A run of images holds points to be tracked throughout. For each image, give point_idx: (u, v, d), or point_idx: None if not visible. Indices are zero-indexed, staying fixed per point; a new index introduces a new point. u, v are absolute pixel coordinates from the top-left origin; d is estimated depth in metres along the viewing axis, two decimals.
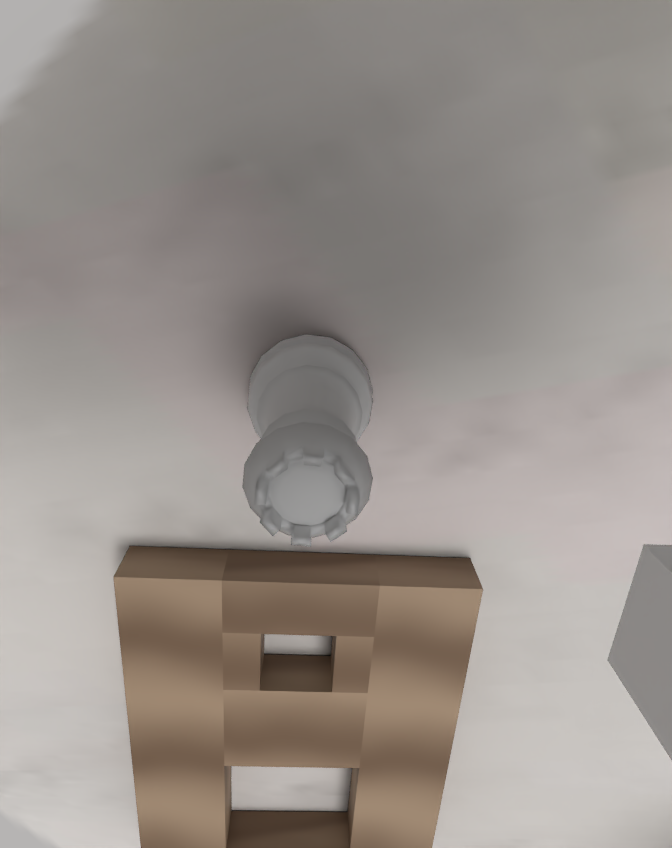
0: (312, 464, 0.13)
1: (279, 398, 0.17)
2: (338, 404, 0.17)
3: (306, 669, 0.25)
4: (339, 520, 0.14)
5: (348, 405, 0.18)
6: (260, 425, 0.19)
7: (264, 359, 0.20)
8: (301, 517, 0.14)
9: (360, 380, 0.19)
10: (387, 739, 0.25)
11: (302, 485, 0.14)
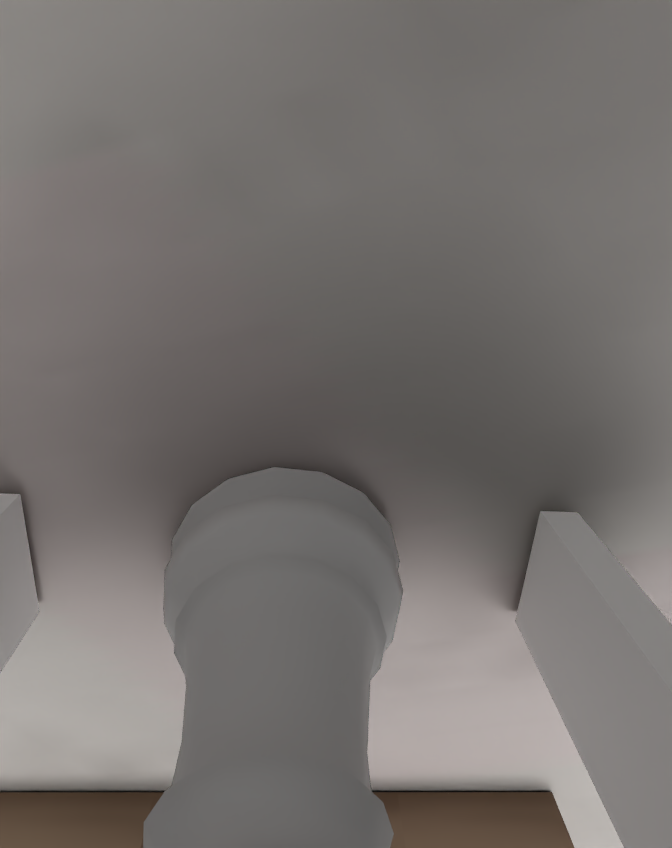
0: None
1: (209, 644, 0.08)
2: (340, 668, 0.08)
3: None
4: None
5: (360, 647, 0.08)
6: (181, 664, 0.09)
7: (196, 513, 0.10)
8: None
9: (381, 567, 0.10)
10: None
11: None
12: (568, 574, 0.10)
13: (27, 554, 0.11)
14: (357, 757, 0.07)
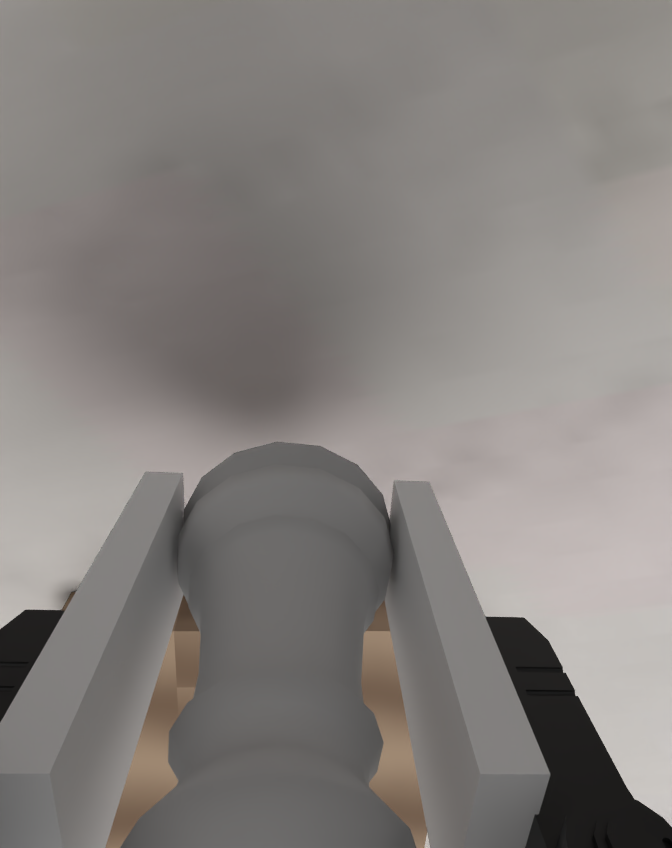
0: None
1: (221, 592, 0.09)
2: (337, 610, 0.09)
3: None
4: None
5: (355, 596, 0.09)
6: (195, 617, 0.10)
7: (206, 484, 0.11)
8: None
9: (374, 529, 0.11)
10: None
11: None
12: (403, 535, 0.11)
13: None
14: (352, 681, 0.08)
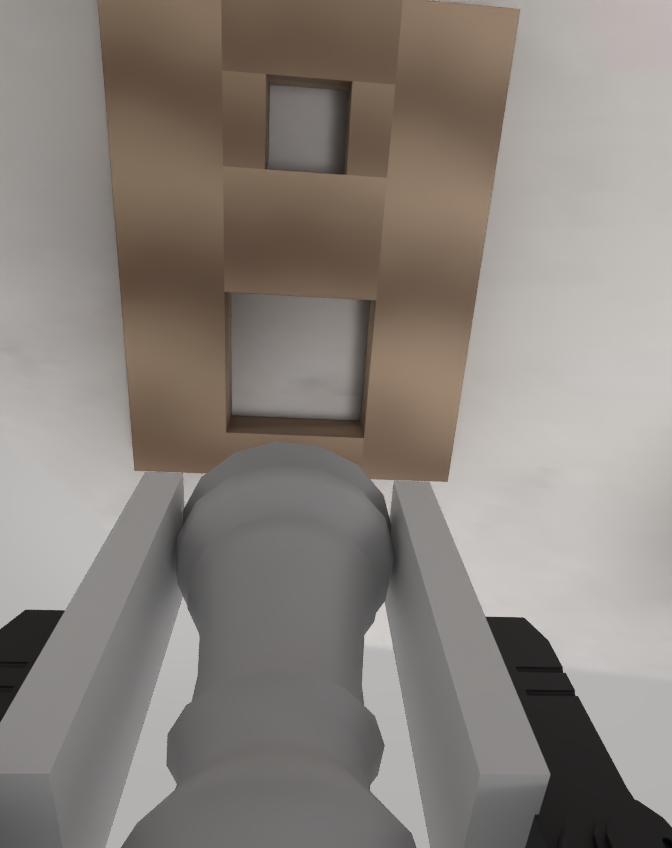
0: None
1: (220, 592, 0.09)
2: (337, 612, 0.09)
3: None
4: None
5: (355, 596, 0.09)
6: (194, 618, 0.10)
7: (205, 484, 0.11)
8: None
9: (374, 529, 0.11)
10: (408, 254, 0.22)
11: None
12: (402, 535, 0.11)
13: None
14: (352, 683, 0.08)
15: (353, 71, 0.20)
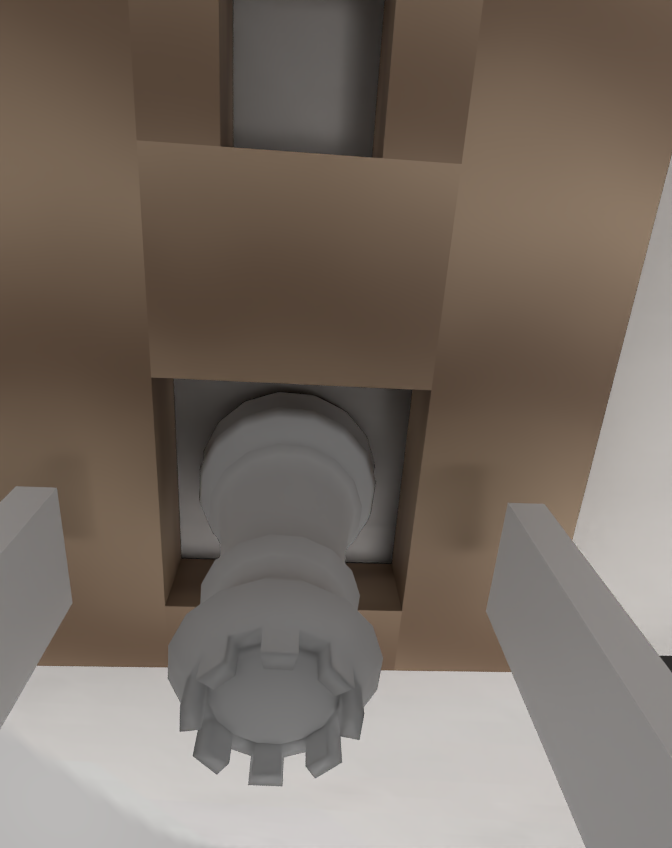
0: (278, 666, 0.07)
1: (237, 498, 0.12)
2: (326, 508, 0.11)
3: None
4: (328, 740, 0.08)
5: (341, 504, 0.12)
6: (215, 528, 0.13)
7: (222, 428, 0.14)
8: (265, 736, 0.08)
9: (357, 458, 0.13)
10: (495, 308, 0.12)
11: (264, 690, 0.08)
12: (531, 563, 0.10)
13: (62, 546, 0.11)
14: (336, 554, 0.10)
15: None
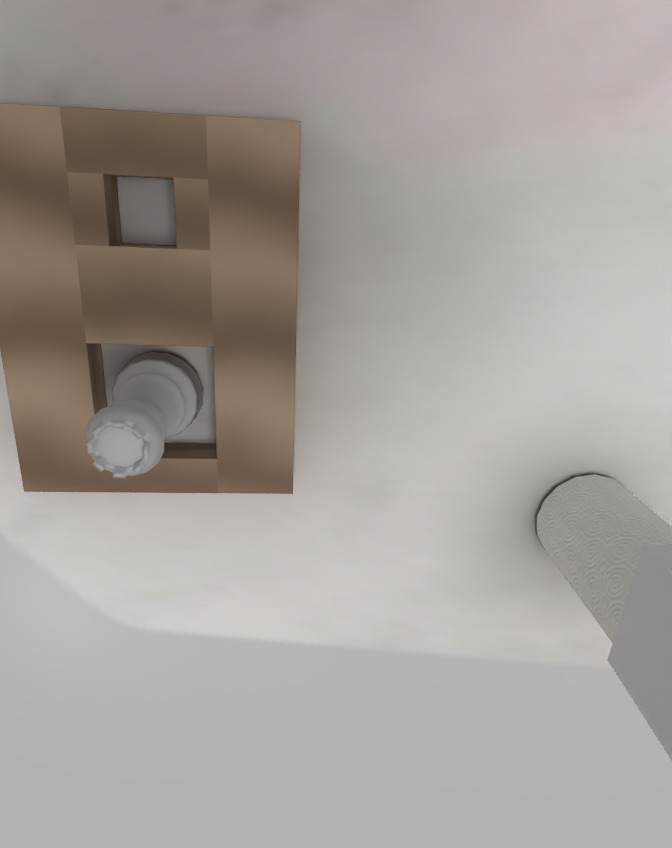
0: (117, 427, 0.23)
1: (123, 393, 0.27)
2: (159, 395, 0.26)
3: (158, 246, 0.27)
4: (141, 462, 0.23)
5: (171, 397, 0.27)
6: None
7: None
8: (119, 461, 0.23)
9: (185, 381, 0.28)
10: (235, 309, 0.27)
11: (116, 441, 0.23)
12: None
13: None
14: (159, 411, 0.26)
15: (172, 170, 0.25)
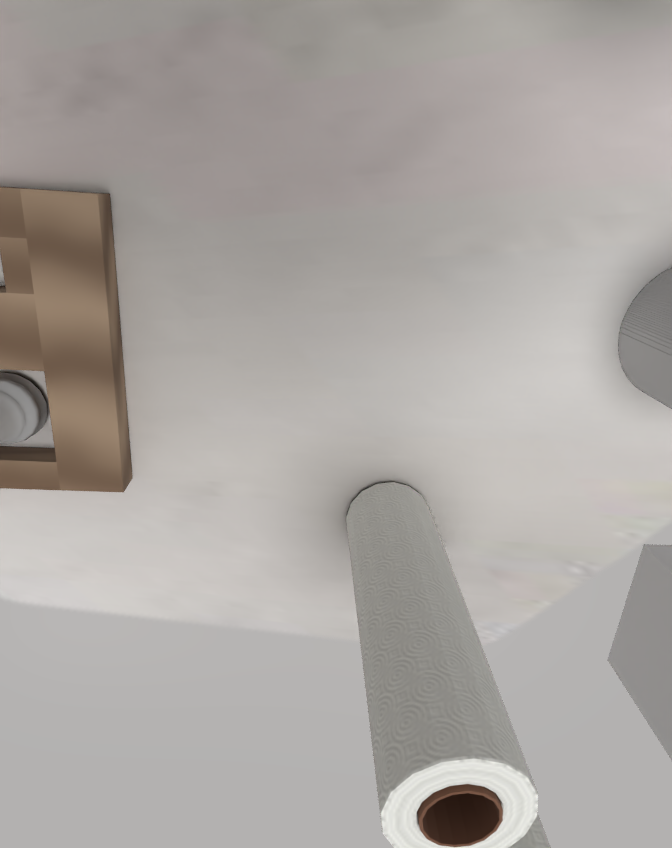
0: None
1: None
2: None
3: None
4: None
5: (6, 411, 0.33)
6: None
7: None
8: None
9: (25, 398, 0.35)
10: (60, 341, 0.33)
11: None
12: None
13: None
14: None
15: None
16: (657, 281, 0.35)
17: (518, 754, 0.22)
